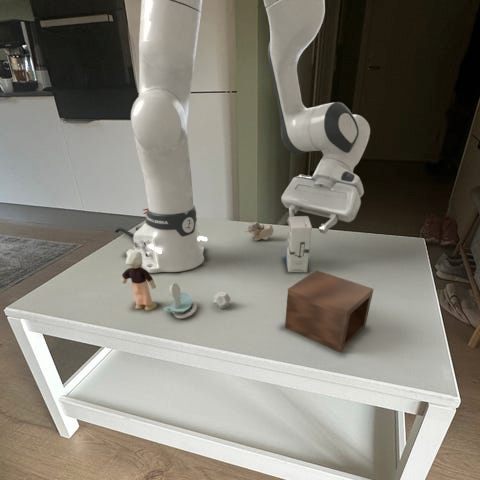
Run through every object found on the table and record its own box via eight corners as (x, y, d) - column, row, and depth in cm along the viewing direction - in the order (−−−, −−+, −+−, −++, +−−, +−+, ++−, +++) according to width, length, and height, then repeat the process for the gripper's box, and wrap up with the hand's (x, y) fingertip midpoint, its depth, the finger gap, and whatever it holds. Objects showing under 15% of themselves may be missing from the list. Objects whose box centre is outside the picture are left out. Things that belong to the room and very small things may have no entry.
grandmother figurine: (163, 302, 80) (155, 248, 73) (158, 311, 77) (149, 256, 70) (129, 300, 81) (118, 246, 74) (123, 310, 78) (110, 254, 70)
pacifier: (202, 305, 79) (177, 300, 81) (201, 280, 75) (175, 275, 77) (186, 323, 73) (160, 317, 75) (184, 297, 70) (157, 291, 71)
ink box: (285, 258, 98) (288, 215, 92) (304, 258, 98) (308, 215, 92) (288, 272, 91) (291, 227, 85) (307, 272, 91) (312, 227, 85)
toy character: (251, 242, 113) (243, 224, 111) (275, 233, 110) (268, 215, 108) (249, 247, 110) (241, 229, 107) (273, 238, 107) (266, 220, 104)
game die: (218, 300, 81) (217, 288, 79) (233, 304, 79) (233, 292, 78) (210, 308, 78) (209, 295, 76) (226, 312, 77) (225, 299, 75)
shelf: (284, 327, 72) (287, 288, 67) (312, 307, 78) (316, 269, 73) (340, 352, 65) (347, 311, 60) (365, 328, 71) (373, 288, 66)
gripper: (291, 166, 95) (267, 212, 95) (365, 178, 84) (338, 230, 83) (299, 181, 100) (276, 225, 100) (370, 193, 89) (345, 243, 89)
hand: (305, 227), depth 92 cm, fingers open, 8 cm apart
